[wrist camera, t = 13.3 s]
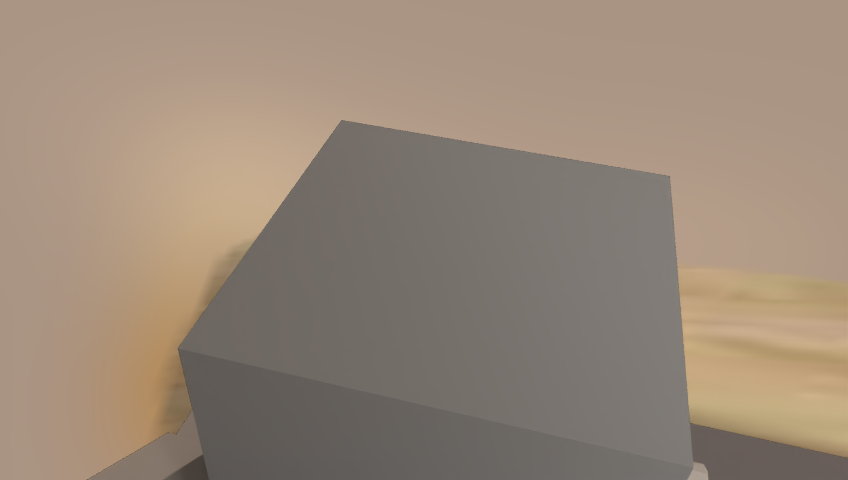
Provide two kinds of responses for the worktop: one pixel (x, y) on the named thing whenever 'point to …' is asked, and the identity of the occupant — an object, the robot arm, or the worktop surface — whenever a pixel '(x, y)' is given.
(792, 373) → the worktop surface
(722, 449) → the power strip
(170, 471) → the robot arm
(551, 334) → the grey rectangular block
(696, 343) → the worktop surface
